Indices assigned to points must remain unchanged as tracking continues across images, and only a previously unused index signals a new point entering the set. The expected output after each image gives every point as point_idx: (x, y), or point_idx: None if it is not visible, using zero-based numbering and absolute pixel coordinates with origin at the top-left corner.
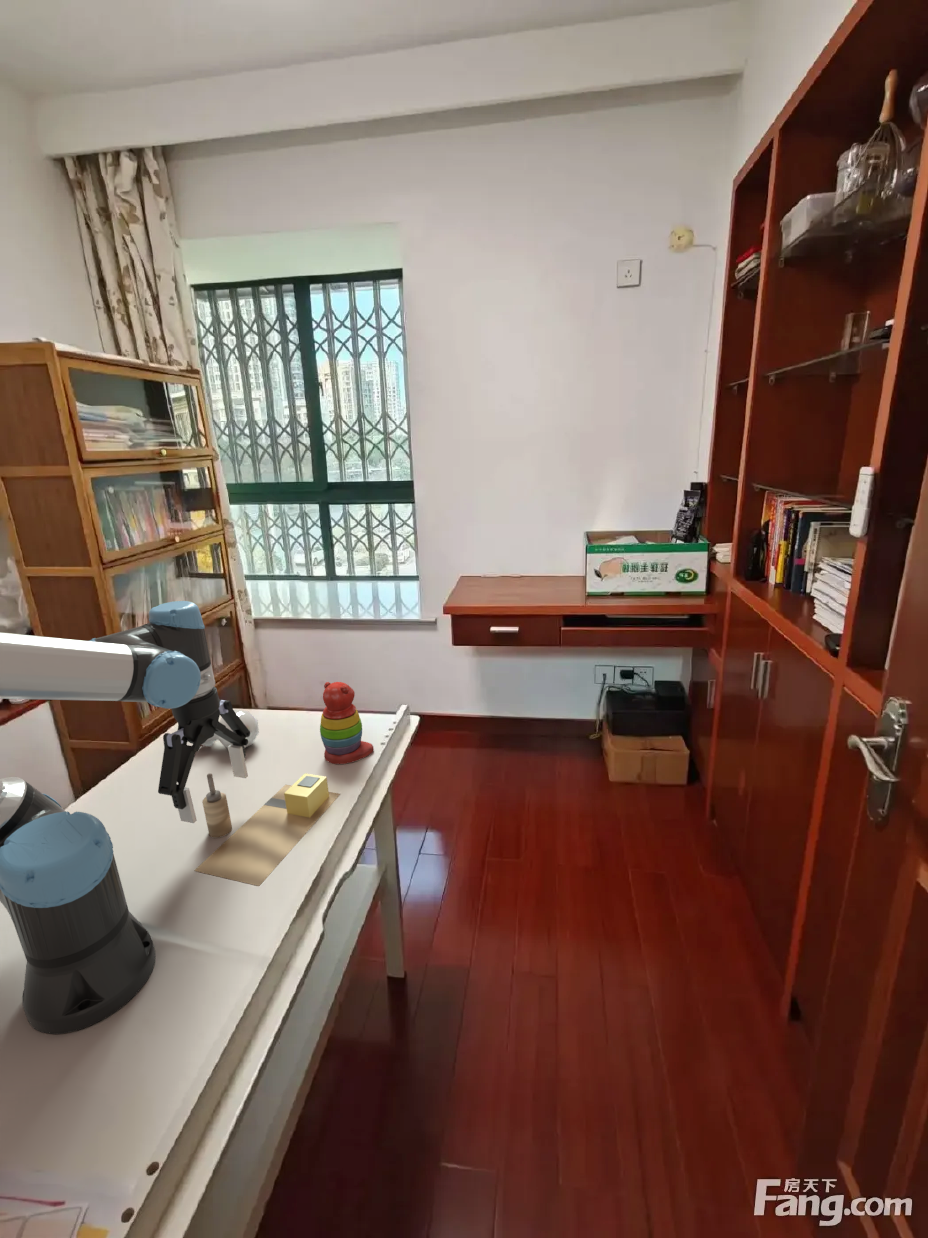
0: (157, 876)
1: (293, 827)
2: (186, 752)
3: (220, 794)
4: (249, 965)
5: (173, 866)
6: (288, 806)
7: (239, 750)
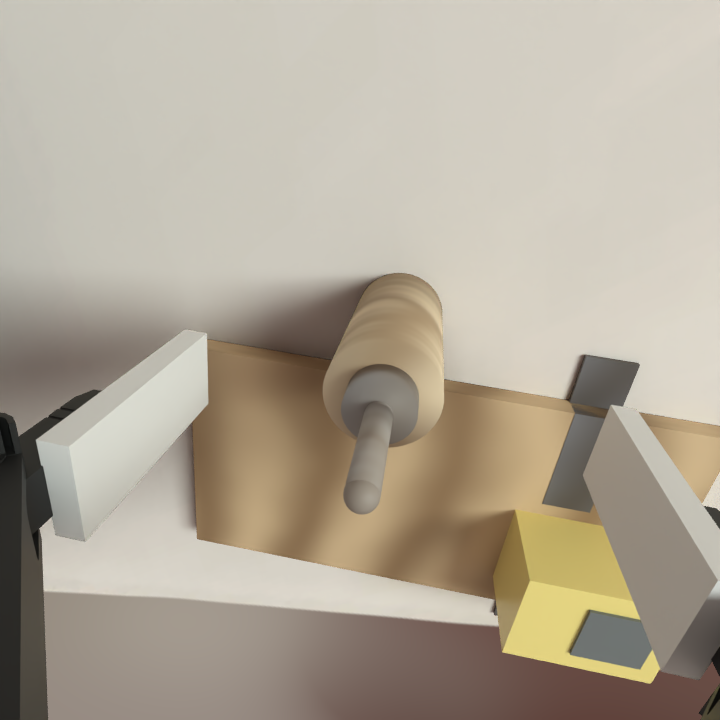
0: (161, 204)
1: (437, 548)
2: None
3: (392, 439)
4: (48, 566)
5: (218, 230)
6: (516, 541)
7: (653, 650)
